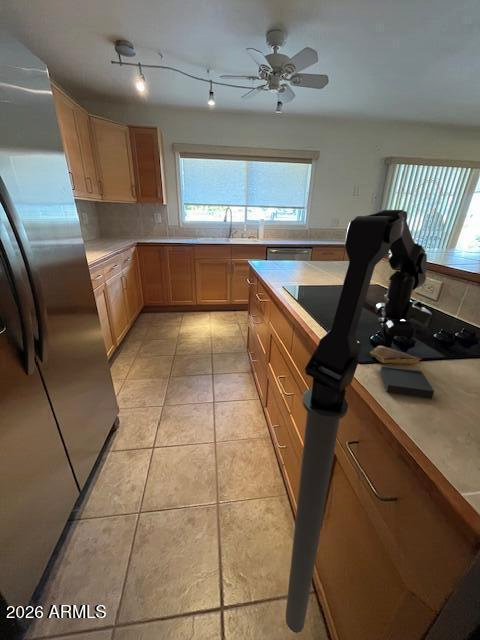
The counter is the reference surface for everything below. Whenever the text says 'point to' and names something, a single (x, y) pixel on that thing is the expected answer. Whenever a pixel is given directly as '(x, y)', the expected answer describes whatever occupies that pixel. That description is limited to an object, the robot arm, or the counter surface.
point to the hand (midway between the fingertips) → (387, 344)
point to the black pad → (406, 382)
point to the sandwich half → (392, 356)
